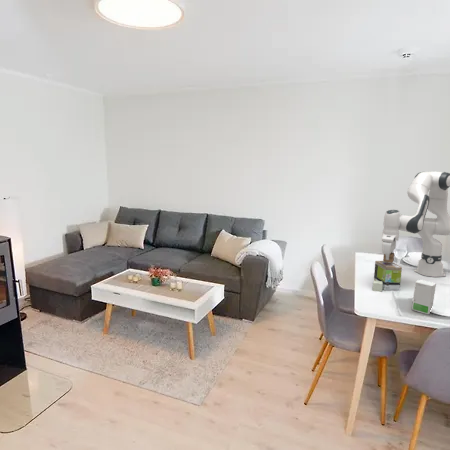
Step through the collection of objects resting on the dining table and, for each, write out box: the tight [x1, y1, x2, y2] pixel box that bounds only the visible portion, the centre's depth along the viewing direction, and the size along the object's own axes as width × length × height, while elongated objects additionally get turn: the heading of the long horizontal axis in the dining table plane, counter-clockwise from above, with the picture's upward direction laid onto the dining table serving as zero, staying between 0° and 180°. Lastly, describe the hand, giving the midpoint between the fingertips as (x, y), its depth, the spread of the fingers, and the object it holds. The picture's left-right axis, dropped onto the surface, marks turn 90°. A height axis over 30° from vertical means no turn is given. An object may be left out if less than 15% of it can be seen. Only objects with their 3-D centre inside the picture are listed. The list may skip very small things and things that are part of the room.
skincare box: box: [411, 279, 437, 315], centre depth 175 cm, size 8×7×16 cm
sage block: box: [372, 279, 383, 293], centre depth 206 cm, size 5×5×5 cm
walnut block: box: [382, 252, 395, 263], centre depth 209 cm, size 5×5×5 cm
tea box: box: [373, 260, 403, 291], centre depth 211 cm, size 15×10×15 cm
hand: (388, 258), depth 209 cm, fingers closed on walnut block, 5 cm apart
